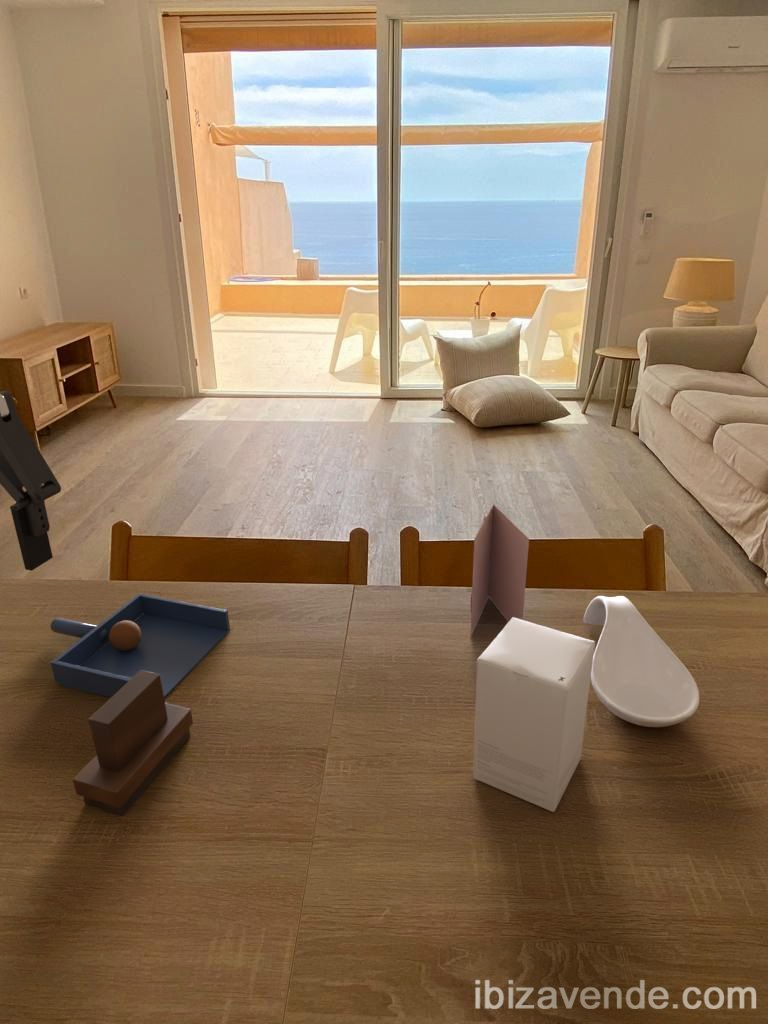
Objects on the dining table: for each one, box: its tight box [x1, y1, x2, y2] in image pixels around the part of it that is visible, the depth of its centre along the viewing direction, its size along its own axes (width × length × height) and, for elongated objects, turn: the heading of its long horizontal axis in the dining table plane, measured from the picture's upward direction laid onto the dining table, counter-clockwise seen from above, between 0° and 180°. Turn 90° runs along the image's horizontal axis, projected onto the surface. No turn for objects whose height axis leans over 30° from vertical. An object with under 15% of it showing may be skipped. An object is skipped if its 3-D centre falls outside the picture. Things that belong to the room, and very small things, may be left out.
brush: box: [72, 670, 194, 816], centre depth 71 cm, size 5×12×10 cm, turn 161°
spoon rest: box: [582, 595, 700, 728], centre depth 85 cm, size 24×12×7 cm, turn 0°
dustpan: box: [50, 593, 231, 700], centre depth 92 cm, size 23×17×3 cm
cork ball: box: [109, 620, 141, 651], centre depth 92 cm, size 4×4×4 cm
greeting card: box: [469, 503, 530, 638], centre depth 95 cm, size 11×7×15 cm, turn 160°
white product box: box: [472, 617, 596, 813], centre depth 70 cm, size 9×9×15 cm
